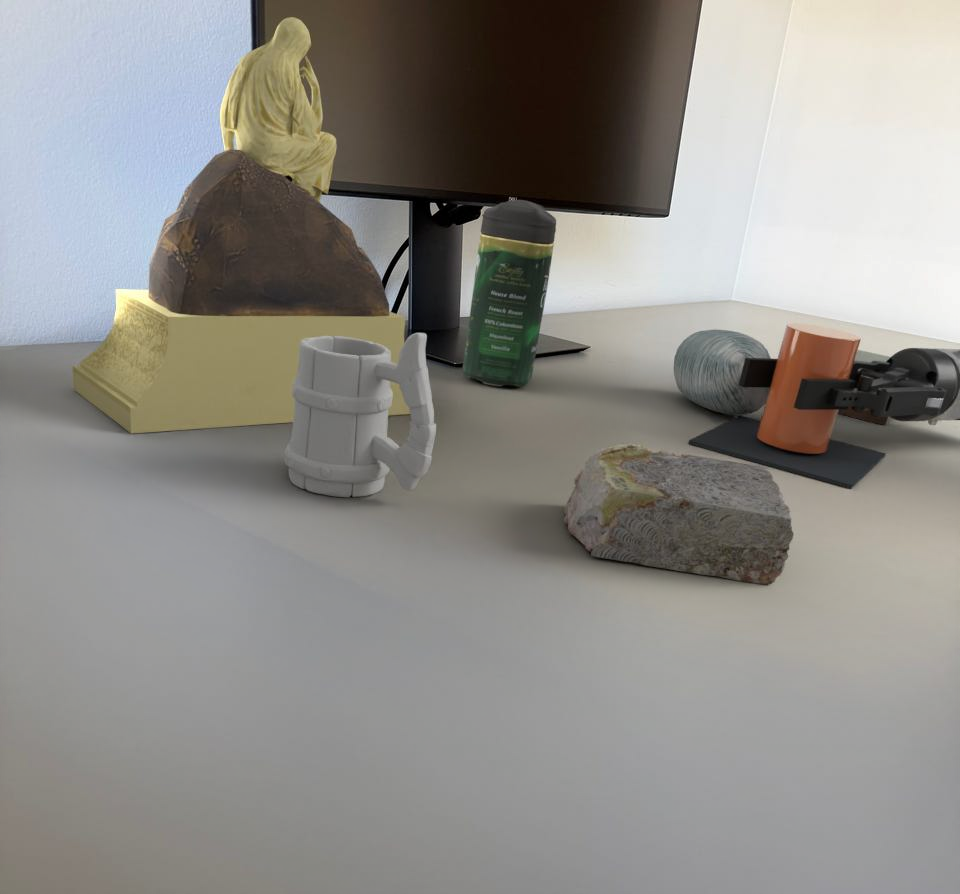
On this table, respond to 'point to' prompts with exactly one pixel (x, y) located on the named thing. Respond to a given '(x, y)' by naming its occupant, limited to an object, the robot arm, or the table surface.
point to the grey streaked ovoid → (719, 371)
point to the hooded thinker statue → (244, 270)
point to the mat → (791, 453)
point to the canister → (798, 359)
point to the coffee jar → (509, 293)
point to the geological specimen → (681, 513)
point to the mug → (358, 416)
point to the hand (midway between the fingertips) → (771, 383)
